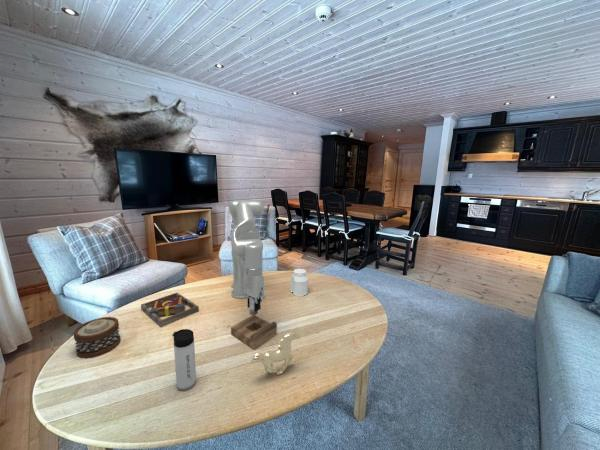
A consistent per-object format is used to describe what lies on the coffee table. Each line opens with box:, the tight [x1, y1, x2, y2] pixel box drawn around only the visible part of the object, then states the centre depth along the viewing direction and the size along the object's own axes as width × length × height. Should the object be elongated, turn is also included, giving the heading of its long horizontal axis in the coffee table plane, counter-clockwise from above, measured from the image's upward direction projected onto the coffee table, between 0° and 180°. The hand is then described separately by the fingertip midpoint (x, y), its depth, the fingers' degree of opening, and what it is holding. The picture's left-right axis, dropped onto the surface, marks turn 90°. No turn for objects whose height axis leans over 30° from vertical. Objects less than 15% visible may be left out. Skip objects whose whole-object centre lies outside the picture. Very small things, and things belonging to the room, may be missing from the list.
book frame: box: [140, 292, 200, 328], centre depth 132 cm, size 24×19×3 cm
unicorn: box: [249, 326, 301, 376], centre depth 90 cm, size 20×4×17 cm, turn 119°
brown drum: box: [73, 316, 122, 359], centre depth 102 cm, size 15×11×15 cm
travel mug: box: [171, 328, 197, 392], centre depth 84 cm, size 6×7×20 cm
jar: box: [290, 268, 309, 297], centre depth 157 cm, size 12×10×15 cm
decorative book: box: [150, 296, 187, 318], centre depth 131 cm, size 11×16×5 cm
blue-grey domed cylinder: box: [249, 296, 259, 316], centre depth 111 cm, size 4×4×8 cm
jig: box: [230, 314, 278, 350], centre depth 113 cm, size 16×14×6 cm
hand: (254, 308), depth 111 cm, fingers closed on blue-grey domed cylinder, 4 cm apart
